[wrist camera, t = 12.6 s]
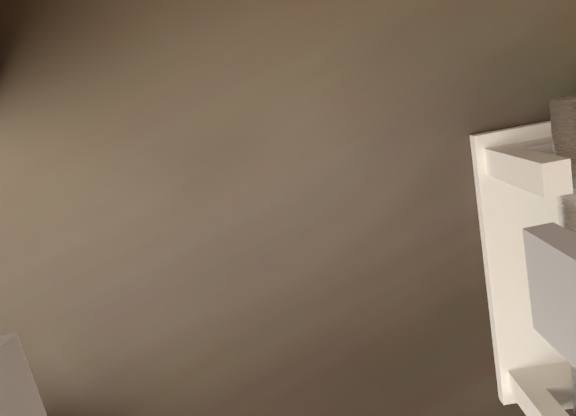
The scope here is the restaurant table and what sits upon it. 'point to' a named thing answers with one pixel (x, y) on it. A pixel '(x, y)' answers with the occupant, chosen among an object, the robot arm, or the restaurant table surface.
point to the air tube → (571, 144)
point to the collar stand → (519, 259)
